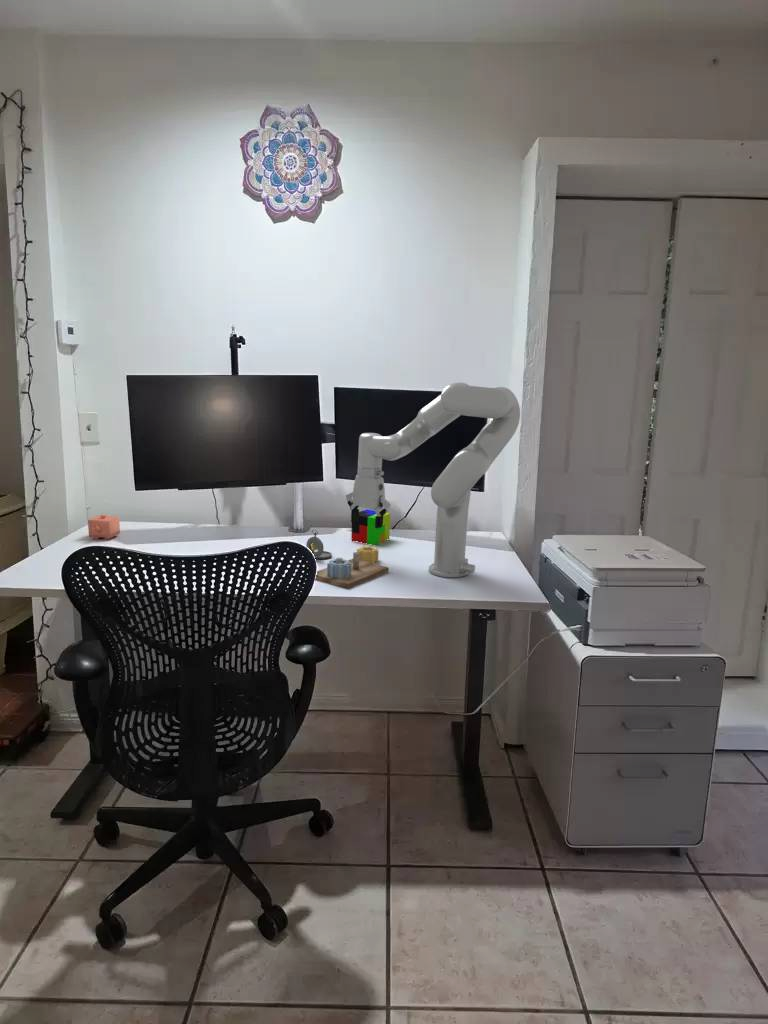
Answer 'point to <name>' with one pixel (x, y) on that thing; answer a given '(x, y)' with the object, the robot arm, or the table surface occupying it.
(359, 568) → the gear board
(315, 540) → the pocket watch
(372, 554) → the gear
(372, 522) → the puzzle toy
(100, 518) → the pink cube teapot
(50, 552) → the table surface
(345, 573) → the gear
